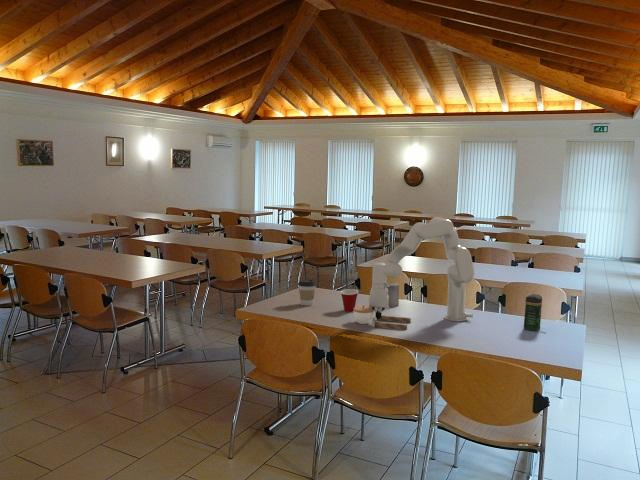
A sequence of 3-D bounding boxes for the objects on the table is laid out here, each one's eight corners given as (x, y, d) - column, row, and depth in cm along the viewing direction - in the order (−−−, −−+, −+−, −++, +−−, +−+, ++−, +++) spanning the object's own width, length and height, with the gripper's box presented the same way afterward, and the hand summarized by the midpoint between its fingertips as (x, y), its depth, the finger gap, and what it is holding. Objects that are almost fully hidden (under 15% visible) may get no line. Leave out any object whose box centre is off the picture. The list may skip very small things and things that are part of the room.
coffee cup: (316, 307, 336) (316, 282, 334) (297, 306, 336) (297, 282, 334) (316, 302, 347) (316, 279, 345) (298, 302, 347) (298, 278, 346)
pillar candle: (387, 302, 350) (388, 279, 348) (401, 305, 344) (402, 281, 342) (379, 305, 342) (380, 281, 340) (393, 308, 336) (394, 283, 334)
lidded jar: (376, 322, 304) (377, 305, 303) (365, 326, 296) (365, 309, 295) (361, 318, 311) (361, 302, 310) (349, 322, 303) (349, 305, 302)
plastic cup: (336, 310, 328) (336, 290, 326) (347, 307, 336) (348, 288, 334) (350, 314, 320) (350, 293, 319) (361, 310, 328) (362, 290, 327)
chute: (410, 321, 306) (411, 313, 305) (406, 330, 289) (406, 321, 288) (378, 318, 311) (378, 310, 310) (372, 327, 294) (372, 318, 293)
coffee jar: (537, 332, 289) (540, 297, 287) (522, 329, 294) (524, 295, 291) (541, 328, 297) (544, 294, 295) (526, 325, 302) (528, 292, 299)
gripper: (394, 285, 301) (393, 318, 303) (367, 283, 305) (366, 316, 307) (391, 288, 294) (390, 322, 296) (364, 286, 298) (363, 319, 300)
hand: (378, 319), depth 302 cm, fingers closed
